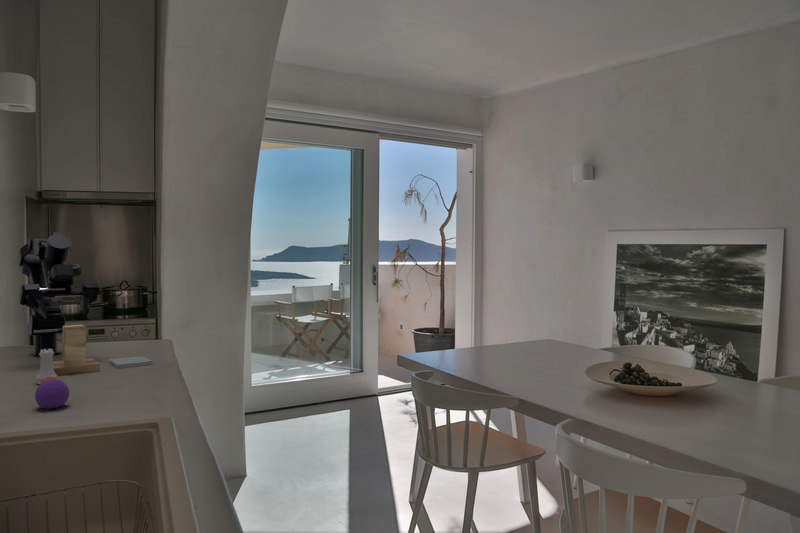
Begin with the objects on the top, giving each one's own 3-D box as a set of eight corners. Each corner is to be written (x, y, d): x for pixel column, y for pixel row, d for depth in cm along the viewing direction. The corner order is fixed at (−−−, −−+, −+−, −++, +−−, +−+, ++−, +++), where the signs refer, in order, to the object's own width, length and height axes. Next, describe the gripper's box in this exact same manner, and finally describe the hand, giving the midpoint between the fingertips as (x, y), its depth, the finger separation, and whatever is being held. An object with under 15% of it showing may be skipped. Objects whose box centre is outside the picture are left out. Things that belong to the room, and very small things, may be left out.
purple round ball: (66, 371, 133) (73, 382, 117) (61, 398, 132) (66, 412, 116) (36, 369, 130) (38, 379, 113) (30, 396, 129) (32, 410, 113)
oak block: (62, 364, 150) (62, 325, 150) (82, 362, 153) (82, 324, 152) (66, 367, 146) (66, 327, 146) (85, 365, 149) (85, 326, 149)
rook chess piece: (61, 381, 140) (61, 348, 140) (48, 385, 136) (48, 351, 135) (44, 380, 140) (44, 347, 140) (31, 384, 136) (30, 350, 136)
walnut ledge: (44, 369, 152) (44, 362, 152) (90, 364, 159) (90, 357, 159) (51, 376, 145) (51, 368, 145) (99, 371, 152) (99, 363, 152)
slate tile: (108, 363, 162) (108, 359, 162) (142, 359, 168) (142, 356, 168) (117, 368, 155) (117, 364, 155) (152, 364, 161) (152, 361, 161)
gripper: (20, 253, 152) (29, 298, 145) (97, 254, 165) (110, 294, 157) (15, 282, 158) (23, 326, 150) (90, 280, 171) (101, 321, 163)
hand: (66, 316), depth 155 cm, fingers open, 9 cm apart
